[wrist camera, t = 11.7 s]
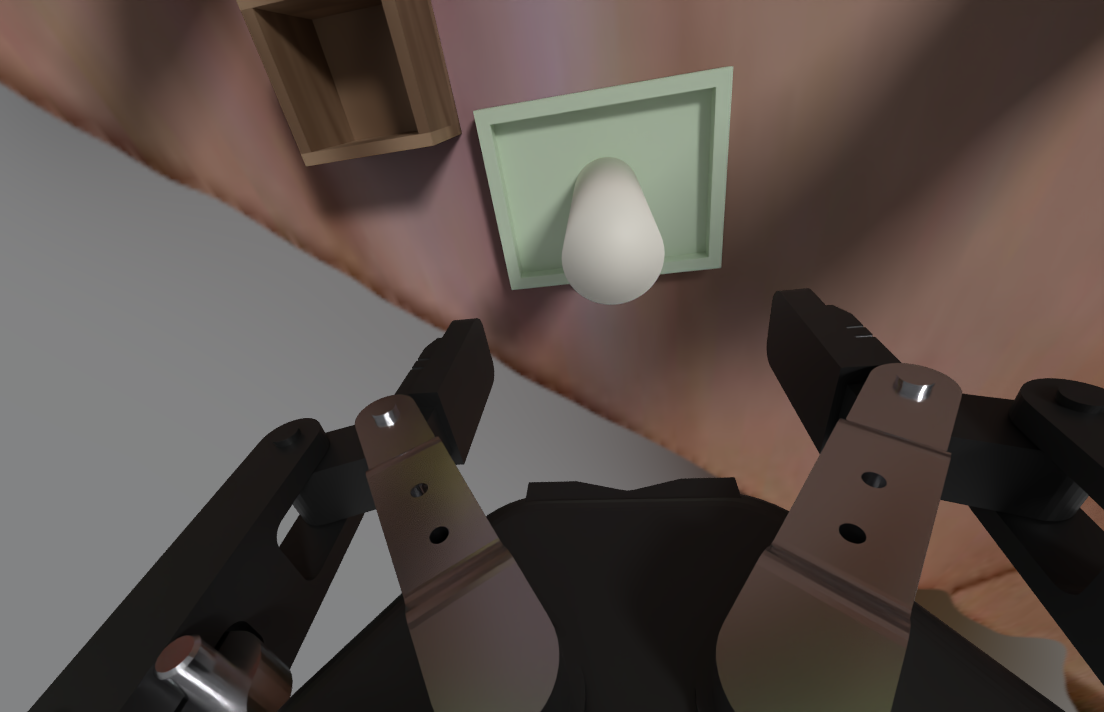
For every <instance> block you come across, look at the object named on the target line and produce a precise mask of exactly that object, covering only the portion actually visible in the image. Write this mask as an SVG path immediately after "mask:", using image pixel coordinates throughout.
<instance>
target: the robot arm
mask: <svg viewBox="0 0 1104 712" xmlns="http://www.w3.org/2000/svg"><path fill="white" fill-rule="evenodd" d="M767 357H768V361H769V364H770V367H771V368H772V370H773V372H774V374H775V375H776V377H777V379H778V381H779V383H780V384H781V386H782V388H783V390H784V391H785V393H786V395H787V397H788V399H789V400H790V402H791V404H792V406H793V407H794V409H795V411H796V413H797V415H798V416H799V418H800V420H801V422H802V423H803V425H804V427H805V429H806V430H807V432H808V434H809V436H810V438H811V439H812V441H813V443H814V445H815V446H816V448H817V450H818V452H819V454H820V455H819V457H818V459H817V461H816V463H815V465H814V467H813V468H812V470H811V472H810V474H809V476H808V478H807V480H806V481H805V483H804V485H803V487H802V489H801V491H800V493H799V494H798V496H797V498H796V500H795V502H794V504H793V506H792V507H791V509H790V511H787V510H785V509H783V508H781V507H779V506H777V505H775V504H772V503H769V502H767V501H764V500H762V499H758V498H755V497H751V496H747V495H742V494H740V492H739V489H738V486H737V483H736V480H735V477H730V478H691V479H678V480H674V481H669V482H665V483H661V484H657V485H653V486H649V487H644V488H640V489H636V490H630V491H626V490H619V489H614V488H609V487H603V486H598V485H593V484H588V483H582V482H577V481H569V482H532V483H530V482H529V484H528V490H527V496H526V498H525V499H521V500H518V501H515V502H512V503H509V504H507V505H505V506H503V507H501V508H499V509H497V510H495V511H494V512H492V513H490V514H489V515H487V516H485V514H484V513H483V511H482V509H481V507H480V506H479V504H478V502H477V501H476V499H475V498H474V495H473V494H472V492H471V490H470V489H469V487H468V486H467V484H466V482H465V480H464V479H463V477H462V475H461V474H460V472H459V470H458V468H457V467H456V465H457V464H464V463H465V461H466V458H467V455H468V452H469V449H470V446H471V444H472V441H473V438H474V435H475V432H476V430H477V427H478V424H479V421H480V419H481V416H482V413H483V410H484V407H485V404H486V402H487V399H488V396H489V393H490V391H491V388H492V385H493V381H494V366H493V361H492V357H491V354H490V350H489V346H488V343H487V339H486V335H485V332H484V328H483V325H482V322H481V321H480V319H478V318H475V319H464V320H454V321H452V322H451V324H450V326H449V327H448V329H447V331H446V332H445V334H444V335H443V337H442V338H437V339H436V340H435V341H433V342H432V343H431V344H429V345H428V346H427V347H426V348H425V349H424V350H423V352H422V353H421V355H420V357H419V358H418V361H416V362H415V364H414V366H413V367H412V370H410V372H409V373H408V375H407V376H406V378H405V379H404V381H403V382H402V384H401V386H400V387H399V389H398V390H397V392H396V393H395V395H391V396H387V397H384V398H381V399H379V400H377V401H374V402H373V403H371V404H370V405H368V406H367V407H365V408H364V409H363V410H362V411H361V412H360V413H359V415H358V416H357V418H356V420H355V425H353V426H349V427H345V428H342V429H338V430H334V431H330V432H327V433H325V432H324V430H323V428H322V426H321V425H320V423H319V422H318V421H317V420H315V419H312V418H303V419H298V420H294V421H291V422H288V423H286V424H283V425H282V426H280V427H278V428H276V429H274V430H273V431H272V432H270V433H269V434H268V435H266V436H265V437H264V438H263V439H262V440H261V441H260V442H259V443H258V445H257V446H256V447H255V448H254V449H253V450H252V452H251V453H250V454H249V455H248V456H247V458H246V459H245V460H244V461H243V462H242V463H241V464H240V466H239V467H238V468H237V469H236V470H235V471H234V473H233V474H232V475H231V476H230V477H229V478H228V479H227V481H226V482H225V483H224V484H223V485H222V486H221V488H220V489H219V490H218V491H217V492H216V493H215V495H214V496H213V497H212V498H211V499H210V501H209V502H208V503H207V504H206V505H205V506H204V507H203V509H202V510H201V511H200V512H199V513H198V514H197V515H196V517H195V518H194V519H193V520H192V521H191V523H190V524H189V525H188V526H187V527H186V528H185V530H184V531H183V532H182V533H181V534H180V535H179V536H178V538H177V539H176V540H175V541H174V542H173V543H172V545H171V546H170V547H169V548H168V549H167V550H166V552H165V553H164V554H163V555H162V556H161V557H160V558H159V560H158V561H157V562H156V563H155V564H154V565H153V567H152V568H151V569H150V570H149V571H148V572H147V574H146V575H145V576H144V577H143V578H142V579H141V581H140V582H139V583H138V584H137V585H136V586H135V588H134V589H133V590H132V591H131V592H130V593H129V595H128V596H127V597H126V598H125V599H124V600H123V601H122V603H121V604H120V605H119V606H118V607H117V608H116V610H115V611H114V612H113V613H112V614H111V615H110V617H109V618H108V619H107V620H106V621H105V623H104V624H103V625H102V626H101V627H100V628H99V629H98V631H97V632H96V633H95V634H94V635H93V636H92V638H91V639H90V640H89V641H88V642H87V643H86V645H85V646H84V647H83V648H82V649H81V650H80V651H79V653H78V654H77V655H76V656H75V657H74V658H73V660H72V661H71V662H70V663H69V664H68V665H67V667H66V668H65V669H64V670H63V671H62V672H61V674H60V675H59V676H58V677H57V678H56V679H55V680H54V682H53V683H52V684H51V685H50V686H49V687H48V689H47V690H46V691H45V692H44V693H43V695H42V696H41V697H40V698H39V699H38V700H37V701H36V703H35V704H34V705H33V706H32V707H31V708H30V710H29V711H28V712H1065V711H1064V710H1062V709H1061V708H1060V707H1058V706H1057V705H1055V704H1054V703H1053V702H1051V701H1050V700H1049V699H1047V698H1046V697H1045V696H1043V695H1042V694H1040V693H1039V692H1038V691H1036V690H1035V689H1034V688H1032V687H1031V686H1029V685H1028V684H1027V683H1025V682H1024V681H1023V680H1021V679H1020V678H1019V677H1017V676H1016V675H1015V674H1013V673H1012V672H1010V671H1009V670H1008V669H1006V668H1005V667H1004V666H1002V665H1001V664H1000V663H998V662H997V661H995V660H994V659H992V658H991V657H990V656H989V655H987V654H986V653H985V652H983V651H982V650H980V649H979V648H978V647H976V646H975V645H974V644H972V643H971V642H969V641H968V640H967V639H965V638H964V637H962V636H961V635H960V634H959V633H957V632H956V631H955V630H953V629H952V628H950V627H949V626H948V625H946V624H945V623H944V622H942V621H941V620H939V619H938V618H937V617H935V616H934V615H933V614H931V613H930V612H929V611H927V610H926V609H925V608H923V607H922V606H920V605H919V604H918V603H916V602H915V601H914V598H915V595H916V591H917V587H918V583H919V579H920V576H921V572H922V568H923V564H924V560H925V556H926V552H927V548H928V544H929V541H930V537H931V533H932V529H933V525H934V521H935V517H936V513H937V510H938V506H939V502H940V500H944V501H949V502H954V503H959V504H964V505H968V506H969V507H970V509H971V510H972V511H973V513H974V514H975V515H976V517H977V518H978V519H979V521H980V522H981V523H982V525H983V526H984V527H985V529H986V530H987V531H988V533H989V534H990V535H991V537H992V538H993V539H994V541H995V542H996V543H997V545H998V546H999V547H1000V549H1001V550H1002V551H1003V553H1004V554H1005V555H1006V557H1007V558H1008V559H1009V561H1010V562H1011V563H1012V565H1013V566H1014V567H1015V569H1016V570H1017V571H1018V572H1019V574H1020V575H1021V576H1022V578H1023V579H1024V580H1025V582H1026V583H1027V584H1028V586H1029V587H1030V588H1031V590H1032V591H1033V592H1034V594H1035V595H1036V596H1037V598H1038V599H1039V600H1040V602H1041V603H1042V604H1043V606H1044V607H1045V608H1046V610H1047V611H1048V612H1049V614H1050V615H1051V616H1052V618H1053V619H1054V620H1055V622H1056V623H1057V624H1058V626H1059V627H1060V628H1061V630H1062V631H1063V632H1064V633H1065V635H1066V636H1067V637H1068V639H1069V640H1070V641H1071V643H1072V644H1073V645H1074V647H1075V648H1076V649H1077V651H1078V652H1079V653H1080V655H1081V656H1082V657H1083V659H1084V660H1085V661H1086V663H1087V664H1088V665H1089V667H1090V668H1091V669H1092V671H1093V672H1094V673H1095V675H1096V676H1097V677H1098V679H1099V680H1100V681H1101V683H1102V684H1103V685H1104V531H1103V530H1102V529H1101V528H1100V527H1099V526H1098V525H1097V524H1096V523H1095V522H1094V521H1093V520H1092V519H1091V518H1090V517H1089V516H1088V515H1087V514H1086V513H1085V512H1084V511H1083V510H1082V509H1081V508H1080V507H1081V505H1082V504H1083V503H1084V501H1085V500H1086V499H1087V497H1088V496H1090V497H1091V498H1092V499H1093V500H1094V501H1095V502H1096V503H1097V504H1098V505H1099V506H1101V507H1102V508H1103V509H1104V389H1103V388H1100V387H1097V386H1094V385H1090V384H1087V383H1082V382H1078V381H1072V380H1066V379H1056V378H1045V379H1036V380H1031V381H1029V382H1026V383H1025V384H1023V386H1022V387H1021V389H1020V391H1019V393H1018V394H1017V396H1016V398H1015V400H1009V399H1001V398H993V397H984V396H976V395H968V394H962V390H961V388H960V386H959V385H958V384H957V383H956V382H955V381H954V380H953V379H951V378H950V377H948V376H947V375H945V374H943V373H941V372H939V371H936V370H934V369H931V368H928V367H924V366H920V365H914V364H907V363H901V362H900V361H899V360H898V359H897V358H896V357H895V356H894V355H893V354H892V353H891V352H890V351H889V350H888V349H887V348H886V347H885V346H884V345H883V344H882V343H881V342H880V341H879V340H878V339H877V338H876V337H873V336H872V333H871V332H870V331H869V330H868V329H867V328H866V327H863V325H862V324H861V323H860V322H859V321H858V320H857V319H856V318H855V317H854V316H853V315H852V314H851V313H849V312H847V311H844V310H842V309H840V308H838V307H836V306H834V305H827V306H826V305H825V304H824V303H823V302H822V301H821V300H820V299H819V298H818V297H817V296H816V295H815V293H814V292H813V291H812V290H811V289H809V288H806V289H795V290H784V291H777V292H776V293H775V294H774V296H773V300H772V307H771V315H770V322H769V330H768V338H767ZM292 504H293V505H294V507H295V508H296V510H297V511H298V512H299V514H300V515H299V516H298V518H297V520H296V521H295V523H294V524H293V526H292V527H291V529H290V531H289V532H288V534H287V535H286V537H285V539H284V540H283V542H282V544H281V545H280V547H279V546H278V544H277V530H278V527H279V525H280V522H281V520H282V519H283V518H284V516H285V515H286V513H287V512H288V510H289V509H290V507H291V506H292ZM375 509H376V510H377V513H378V516H379V519H380V523H381V526H382V529H383V532H384V536H385V539H386V542H387V545H388V549H389V552H390V555H391V558H392V562H393V565H394V568H395V571H396V575H397V578H398V581H399V584H400V588H401V591H402V594H401V595H400V596H398V597H397V598H396V599H395V600H394V601H393V602H392V603H391V604H390V605H389V606H388V607H387V608H386V609H384V610H383V611H382V612H381V613H380V614H379V615H378V616H377V617H376V618H375V619H374V620H373V621H372V622H371V623H370V624H368V625H367V626H366V627H365V628H364V629H363V630H362V631H361V632H360V633H359V634H358V635H357V636H356V637H354V638H353V639H352V640H351V641H350V642H349V643H348V644H347V645H346V646H345V647H344V648H343V649H342V650H341V651H339V652H338V653H337V654H336V655H335V656H334V657H333V658H332V659H331V660H330V661H329V662H328V663H327V664H326V665H324V666H323V667H322V668H321V669H320V670H319V671H318V672H317V673H316V674H315V675H314V676H313V677H312V678H310V679H309V680H308V681H307V682H306V683H305V684H304V685H303V686H302V687H301V688H300V689H299V690H298V691H297V692H295V693H294V695H292V696H291V692H292V683H293V680H292V674H291V671H290V668H291V666H292V663H293V662H294V660H295V657H296V655H297V653H298V651H299V649H300V647H301V645H302V643H303V640H304V639H305V637H306V634H307V632H308V630H309V628H310V626H311V624H312V622H313V620H314V618H315V616H316V614H317V612H318V609H319V607H320V605H321V603H322V601H323V599H324V597H325V595H326V593H327V591H328V588H329V586H330V584H331V582H332V580H333V578H334V576H335V574H336V572H337V570H338V568H339V566H340V563H341V561H342V559H343V557H344V555H345V553H346V551H347V548H348V547H349V545H350V543H351V540H352V538H353V536H354V534H355V532H356V530H357V528H358V526H359V524H360V521H361V520H362V518H363V515H364V513H365V512H368V511H371V510H375ZM290 696H291V697H290Z"/></svg>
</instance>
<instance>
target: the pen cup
mask: <svg viewBox="0 0 1104 712" xmlns="http://www.w3.org/2000/svg"><path fill="white" fill-rule="evenodd" d="M236 1H237V3H238V6H239V8H240V10H241V13H242V15H243V18H244V20H245V22H246V25H247V27H248V29H249V32H250V34H251V37H252V39H253V41H254V44H255V46H256V48H257V51H258V53H259V56H260V58H261V60H262V63H263V65H264V68H265V70H266V72H267V75H268V77H269V79H270V82H271V84H272V87H273V89H274V91H275V94H276V96H277V98H278V101H279V103H280V106H281V108H282V110H283V113H284V115H285V117H286V120H287V122H288V125H289V127H290V129H291V132H292V134H293V137H294V139H295V141H296V144H297V146H298V148H299V151H300V153H301V156H302V158H303V160H304V163H305V165H306V166H312V165H318V164H324V163H330V162H336V161H342V160H348V159H354V158H361V157H367V156H373V155H379V154H385V153H391V152H397V151H404V150H410V149H416V148H422V147H428V146H434V145H436V144H439V143H441V142H443V141H446V140H448V139H450V138H453V137H455V136H457V135H460V134H462V132H461V128H460V124H459V119H458V115H457V111H456V107H455V102H454V98H453V94H452V89H451V85H450V81H449V77H448V72H447V68H446V64H445V60H444V55H443V51H442V47H441V42H440V38H439V34H438V30H437V25H436V21H435V17H434V12H433V8H432V4H431V0H236Z"/></svg>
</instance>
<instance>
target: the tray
mask: <svg viewBox="0 0 1104 712" xmlns="http://www.w3.org/2000/svg"><path fill="white" fill-rule="evenodd" d="M732 78H733V66H729V67H721V68H715V69H710V70H704V71H698V72H692V73H687V74H681V75H675V76H669V77H663V78H658V79H652V80H646V81H640V82H635V83H629V84H623V85H617V86H612V87H606V88H600V89H594V90H589V91H583V92H577V93H571V94H566V95H560V96H554V97H548V98H542V99H537V100H531V101H525V102H519V103H514V104H508V105H502V106H496V107H491V108H485V109H479V110H476V111H473V113H474V118H475V123H476V127H477V132H478V136H479V141H480V146H481V150H482V155H483V160H484V164H485V169H486V173H487V178H488V183H489V187H490V192H491V197H492V201H493V206H494V211H495V215H496V220H497V224H498V229H499V234H500V238H501V243H502V248H503V252H504V257H505V261H506V266H507V271H508V275H509V280H510V285H511V289H512V290H517V289H526V288H536V287H545V286H555V285H564V284H570V283H569V282H568V280H567V278H566V276H565V273H564V270H563V266H562V250H563V244H564V239H565V234H566V229H567V223H568V218H569V213H570V208H571V202H572V197H573V192H574V187H575V182H576V179H577V177H578V175H579V173H580V172H581V170H582V169H583V168H584V167H585V166H586V165H587V164H589V163H590V162H592V161H593V160H596V159H598V158H602V157H613V158H617V159H620V160H622V161H624V162H625V163H627V164H628V165H629V166H630V167H631V168H632V170H633V171H634V173H635V175H636V177H637V180H638V182H639V184H640V187H641V189H642V192H643V194H644V196H645V199H646V201H647V203H648V206H649V208H650V211H651V213H652V215H653V218H654V220H655V222H656V225H657V227H658V230H659V232H660V234H661V237H662V240H663V244H664V251H665V255H664V263H663V267H662V270H661V273H660V274H668V273H677V272H686V271H696V270H705V269H715V268H721V260H722V243H723V227H724V210H725V194H726V177H727V161H728V144H729V128H730V111H731V95H732Z"/></svg>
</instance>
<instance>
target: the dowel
mask: <svg viewBox="0 0 1104 712" xmlns="http://www.w3.org/2000/svg"><path fill="white" fill-rule="evenodd" d="M664 255H665V251H664V244H663V240H662V237H661V234H660V232H659V230H658V227H657V225H656V222H655V220H654V218H653V215H652V213H651V211H650V208H649V206H648V203H647V201H646V199H645V196H644V194H643V192H642V189H641V187H640V184H639V182H638V180H637V177H636V175H635V173H634V171H633V170H632V168H631V167H630V166H629V165H628V164H627V163H625V162H624V161H622V160H620V159H617V158H613V157H602V158H598V159H596V160H593V161H592V162H590V163H589V164H587V165H586V166H585V167H584V168H583V169H582V170H581V172H580V173H579V175H578V177H577V179H576V182H575V187H574V192H573V197H572V202H571V208H570V213H569V218H568V223H567V229H566V234H565V239H564V244H563V250H562V266H563V270H564V273H565V276H566V278H567V280H568V282H569V283H570V285H571V286H572V287H573V288H574V290H575V291H576V292H578V293H579V294H580V295H581V296H583V297H584V298H586V299H588V300H590V301H593V302H596V303H600V304H607V305H616V304H622V303H626V302H629V301H632V300H634V299H636V298H638V297H640V296H641V295H643V294H644V293H645V292H646V291H648V290H649V289H650V288H651V287H652V285H653V284H654V283H655V281H656V280H657V278H658V277H659V275H660V273H661V270H662V267H663V263H664Z"/></svg>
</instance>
